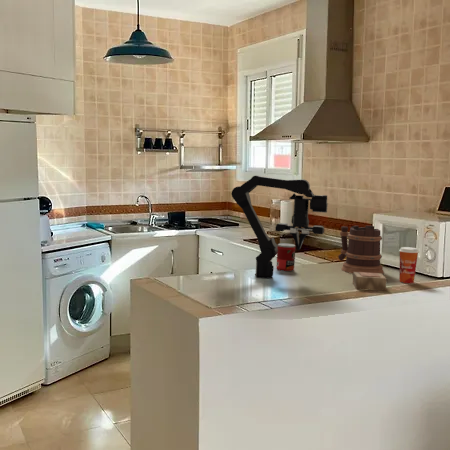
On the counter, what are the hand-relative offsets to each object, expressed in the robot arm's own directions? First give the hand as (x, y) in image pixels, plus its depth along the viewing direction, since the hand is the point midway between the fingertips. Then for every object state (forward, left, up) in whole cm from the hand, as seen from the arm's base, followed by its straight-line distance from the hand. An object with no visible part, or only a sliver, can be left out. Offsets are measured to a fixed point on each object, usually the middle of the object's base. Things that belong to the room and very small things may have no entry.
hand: (298, 250), depth 234 cm
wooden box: (+21, -9, -10) cm, 25 cm away
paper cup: (+46, +2, -12) cm, 48 cm away
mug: (+33, +26, -12) cm, 44 cm away
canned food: (-1, +22, -12) cm, 25 cm away
